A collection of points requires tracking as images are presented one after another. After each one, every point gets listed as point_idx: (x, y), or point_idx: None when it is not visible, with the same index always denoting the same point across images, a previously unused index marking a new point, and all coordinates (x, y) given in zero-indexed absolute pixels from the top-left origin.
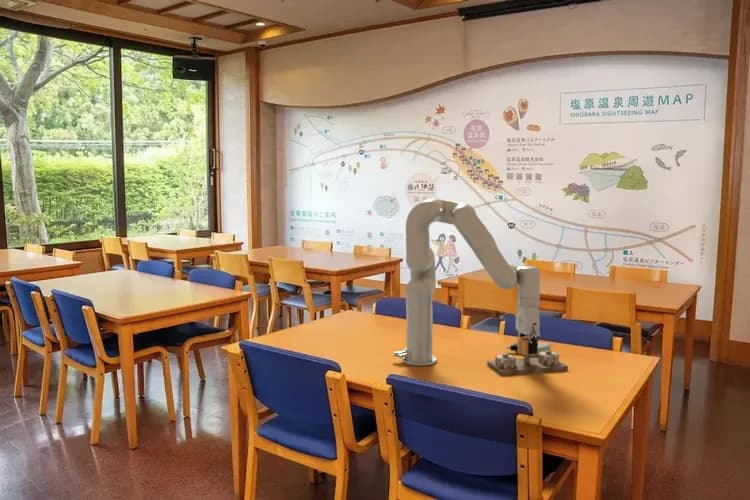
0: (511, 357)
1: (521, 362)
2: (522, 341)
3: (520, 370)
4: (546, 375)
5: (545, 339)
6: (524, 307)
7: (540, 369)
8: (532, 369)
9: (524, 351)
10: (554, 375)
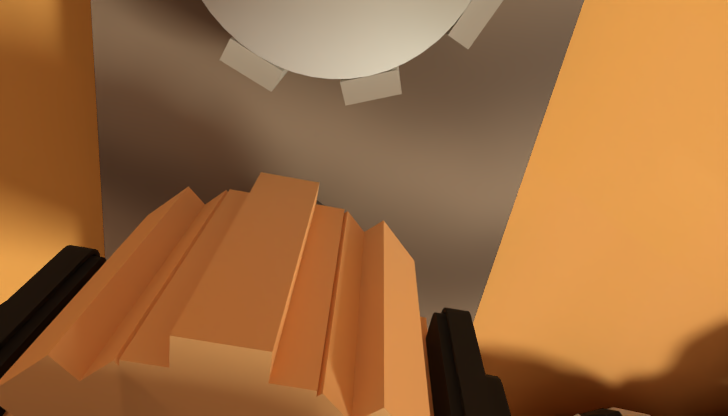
0: (262, 2)
1: (363, 196)
2: (112, 348)
3: (96, 3)
4: (29, 226)
5: None
6: None
7: (111, 245)
8: (104, 163)
9: (138, 230)
10: (20, 286)
